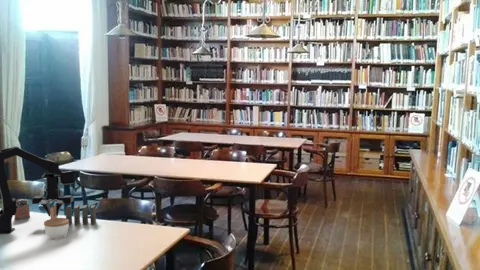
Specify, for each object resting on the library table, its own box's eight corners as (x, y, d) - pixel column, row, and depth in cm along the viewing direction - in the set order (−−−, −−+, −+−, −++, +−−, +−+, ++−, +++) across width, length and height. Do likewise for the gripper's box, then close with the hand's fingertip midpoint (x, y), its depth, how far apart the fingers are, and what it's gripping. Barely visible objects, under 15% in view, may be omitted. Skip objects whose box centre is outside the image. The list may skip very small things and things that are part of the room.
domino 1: (54, 225, 226) (53, 208, 225) (50, 225, 226) (50, 208, 225) (57, 222, 231) (56, 205, 230) (53, 222, 231) (53, 205, 230)
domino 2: (69, 225, 227) (68, 207, 226) (66, 225, 227) (65, 208, 226) (72, 222, 232) (71, 205, 231) (68, 222, 232) (68, 205, 231)
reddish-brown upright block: (28, 216, 242) (27, 198, 241) (31, 217, 240) (30, 199, 239) (13, 219, 236) (12, 201, 235) (16, 220, 234) (15, 202, 233)
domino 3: (77, 225, 227) (77, 207, 226) (74, 225, 227) (73, 207, 226) (80, 222, 232) (79, 205, 231) (76, 222, 232) (76, 205, 231)
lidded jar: (74, 234, 213) (73, 215, 212) (60, 242, 202) (60, 221, 201) (53, 233, 215) (53, 213, 214) (39, 240, 204) (38, 220, 203)
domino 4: (85, 225, 228) (85, 207, 227) (82, 225, 227) (82, 207, 227) (88, 222, 233) (87, 205, 232) (84, 222, 232) (84, 205, 232)
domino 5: (93, 224, 228) (93, 207, 227) (90, 224, 228) (90, 207, 227) (95, 221, 233) (95, 204, 232) (92, 222, 233) (92, 205, 232)
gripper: (75, 182, 235) (76, 211, 237) (38, 182, 233) (39, 212, 235) (70, 186, 224) (70, 217, 226) (31, 187, 222) (32, 218, 224)
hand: (53, 216), depth 228 cm, fingers open, 3 cm apart
